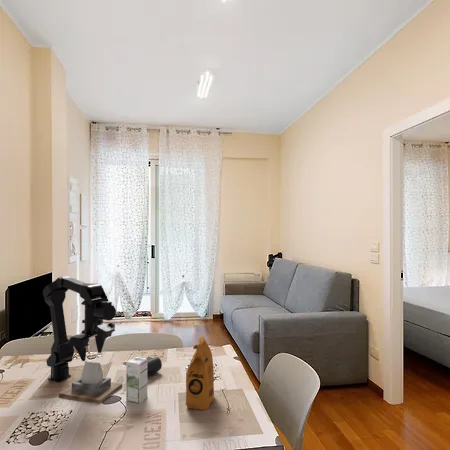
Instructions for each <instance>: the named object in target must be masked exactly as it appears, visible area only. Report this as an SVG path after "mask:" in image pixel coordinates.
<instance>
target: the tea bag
mask: <svg viewBox="0 0 450 450" xmlns="http://www.w3.org/2000/svg"><path fill="white" fill-rule="evenodd" d="M103 375H104V371H103V369H102V365H101V362H96V361H95V362H94V361H87V360H85V361H84V365H83V369H82V372H81V378H82V383H84V384H90V385H98V384H99V383H101V382H103V377H104V376H103Z"/></svg>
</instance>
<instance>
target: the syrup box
mask: <svg viewBox="0 0 450 450" xmlns="http://www.w3.org/2000/svg"><path fill="white" fill-rule="evenodd" d="M125 364H126V367H125V368H126V369H125V370H126V374H125V375H126V379H125V380H126V383H125V384H126V388H125V389H126V390H125V391H126V394H125V395H126V397H125V398H126V402H131V403H136V404H140V403H142V402H143V401H145V400H146V399H147V398H148V377H147V357H138V356H134V357H132V358H129V359H127V361H126V362H125Z"/></svg>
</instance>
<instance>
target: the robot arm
mask: <svg viewBox="0 0 450 450" xmlns="http://www.w3.org/2000/svg"><path fill="white" fill-rule="evenodd" d="M68 290H70V291H72V292H75V293H76V294H77V293H78V295H79V297H80V298H81V299H82V302H81V303H80V304H81V305H82V306H84V319H82V320H81V323H82V324H83V325H84V328H83V329H84V330H81V334H75V335H73V336H70V338H69V339H68V334H67V328H66V319H65V312H64V305H63V304H64V302H65V299H66V293H67V292H68ZM42 295H43V298H44V299H43V300H44V302H45V303H46V304H47V306H49V311H50V317H51V326H52V333H53V343H52V345H51V348H50V355H49V356H48V358H47V359H46V366H47V367H50V377H49V378H47V381H52V382H56V383H60V382H63V381H64V380H65V381H66V379H68V378H70V377H72V375H71V374H70V367H69V363H70V362H73V358H74V355H75V350H76V352H77V354H78V356H79V357H80V360H81V362H86V357H87V355H86V354H87V348H88V347H89V346H90V343H89V342H90V339H92V338H94V340H95V345H96V350H97V353H98V354H101V353H102V351H103V347H104V345H105V341H106V339H108V338H109V337H110V338H111V337H112V334H113V333H114V332H115V331H116V330H115V328H116V325H115V322H113V321H112V320H113V319H114V318H115V316H116V314H117V308H116V307H115V306H114V305H113V302H112V301H109V298H108V295H107V294H106V291H105V289H104V288H103V286H102V284H100V283H87V282H84V281H81V280H78V279H76V278H74V277H72V276H69V275H65V276H59V277H58V278H56V279H55V280H53V281H52V282H50V283H47V285H45V287H44V288H43V290H42ZM104 320H105V321H111V322H109V323H104Z"/></svg>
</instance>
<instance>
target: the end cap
mask: <svg viewBox="0 0 450 450" xmlns="http://www.w3.org/2000/svg"><path fill="white" fill-rule="evenodd" d="M146 358H147V378H148V377H150V376H152V375H154V374H156V373H158V372H159V371H161V369H162V368H163V367H162V366H163V364H162V359H161V358H160V357H158V356H154V357H150V356H147V357H146Z"/></svg>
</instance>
